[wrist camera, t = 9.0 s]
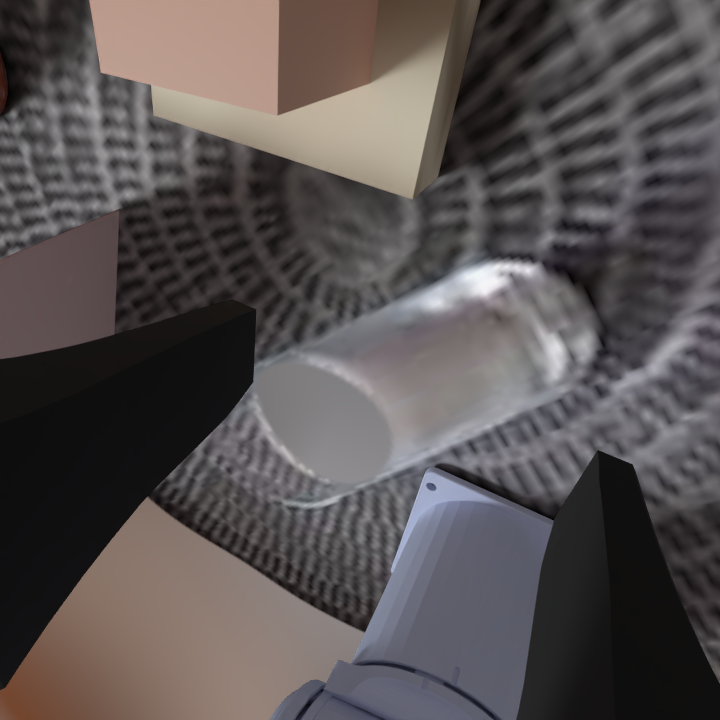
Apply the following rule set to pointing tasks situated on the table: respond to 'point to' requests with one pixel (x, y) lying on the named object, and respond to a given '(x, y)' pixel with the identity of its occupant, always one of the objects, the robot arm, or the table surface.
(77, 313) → the greeting card
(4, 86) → the supplement bottle
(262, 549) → the table surface
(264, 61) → the terracotta cube
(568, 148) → the table surface
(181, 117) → the birch block
